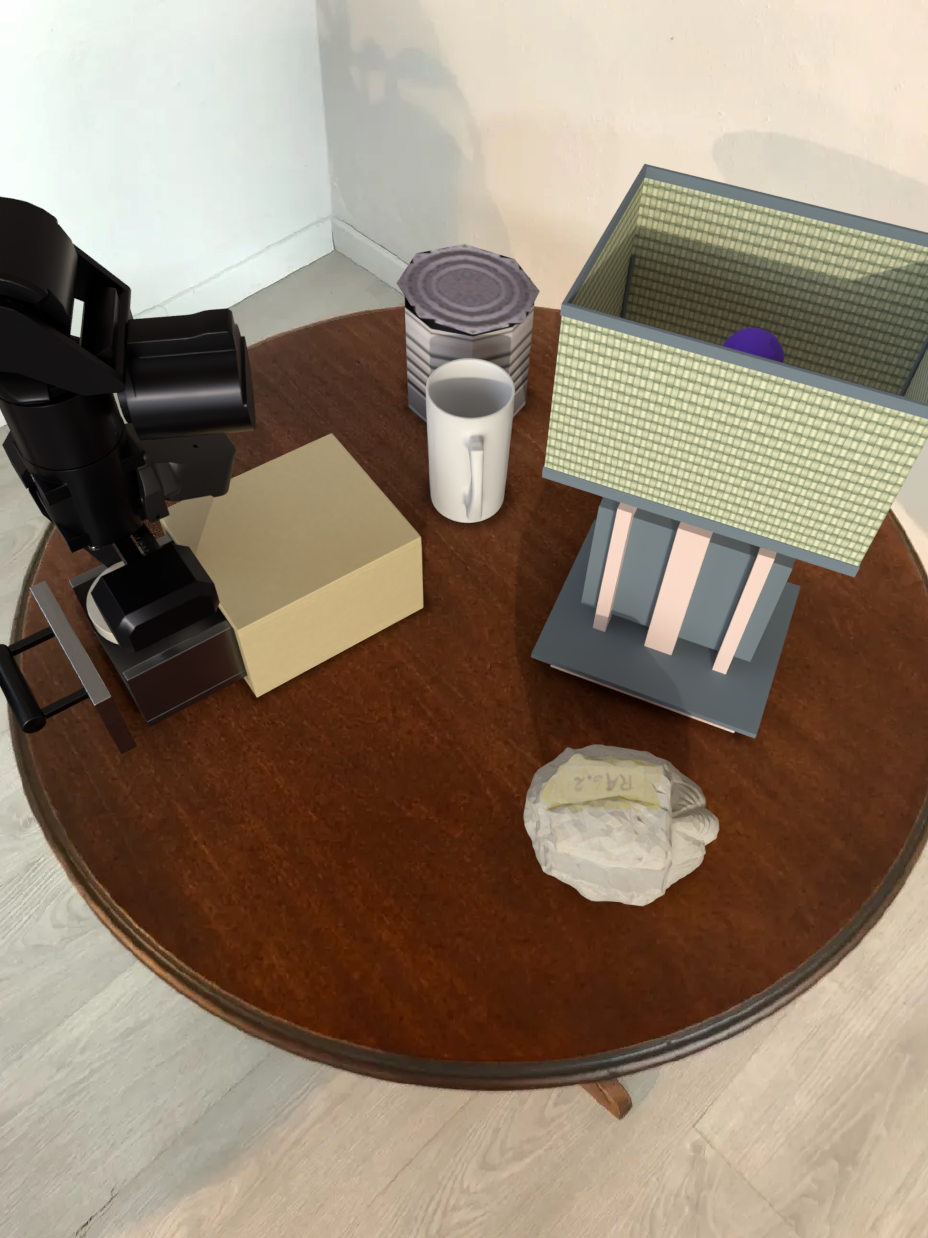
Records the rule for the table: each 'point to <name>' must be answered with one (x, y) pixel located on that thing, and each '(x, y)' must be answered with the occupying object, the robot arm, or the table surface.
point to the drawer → (126, 666)
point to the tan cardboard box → (303, 559)
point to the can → (466, 316)
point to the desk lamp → (727, 430)
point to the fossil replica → (617, 823)
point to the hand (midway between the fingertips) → (139, 600)
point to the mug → (469, 437)
